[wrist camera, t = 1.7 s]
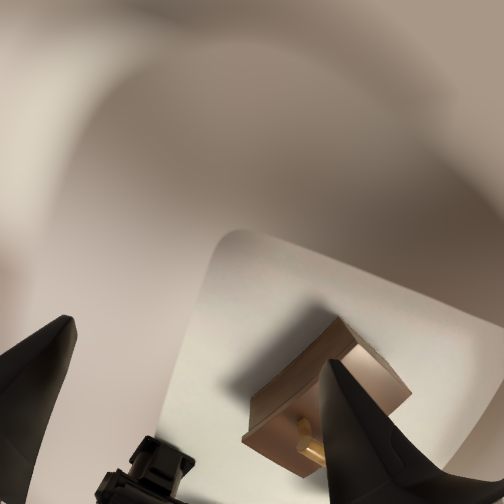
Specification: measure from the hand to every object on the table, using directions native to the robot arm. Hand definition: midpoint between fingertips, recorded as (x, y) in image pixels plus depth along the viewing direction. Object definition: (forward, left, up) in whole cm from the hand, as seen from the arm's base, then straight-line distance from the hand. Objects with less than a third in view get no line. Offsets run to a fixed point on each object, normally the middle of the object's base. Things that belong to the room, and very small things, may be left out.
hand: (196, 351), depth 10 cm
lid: (-6, -13, -11) cm, 18 cm away
